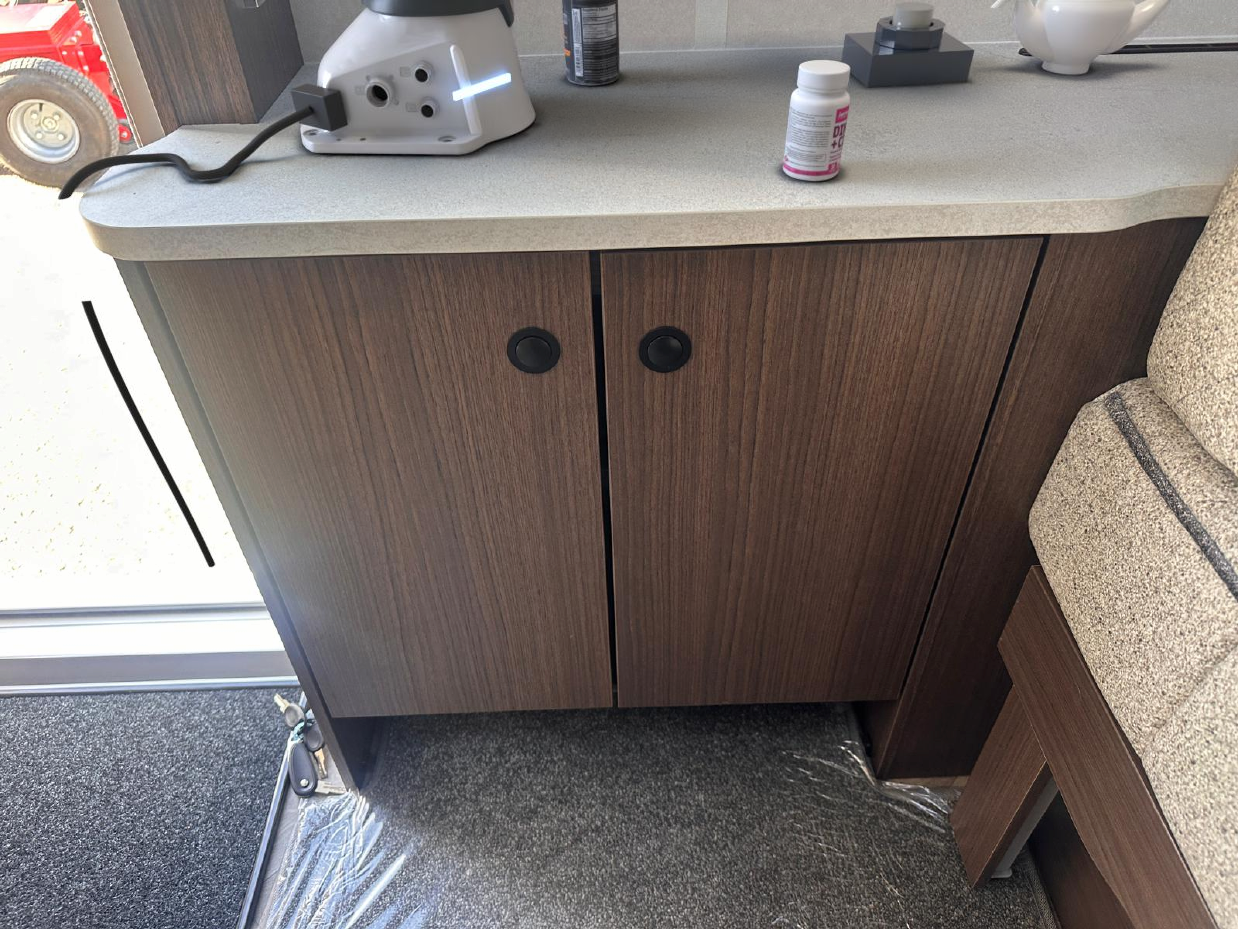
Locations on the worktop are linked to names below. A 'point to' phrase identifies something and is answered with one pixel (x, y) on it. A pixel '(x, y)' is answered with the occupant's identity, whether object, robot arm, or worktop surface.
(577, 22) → the dark grey can
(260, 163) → the worktop surface
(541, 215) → the worktop surface
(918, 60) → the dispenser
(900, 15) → the dispenser button
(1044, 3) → the teapot
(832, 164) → the pill bottle
